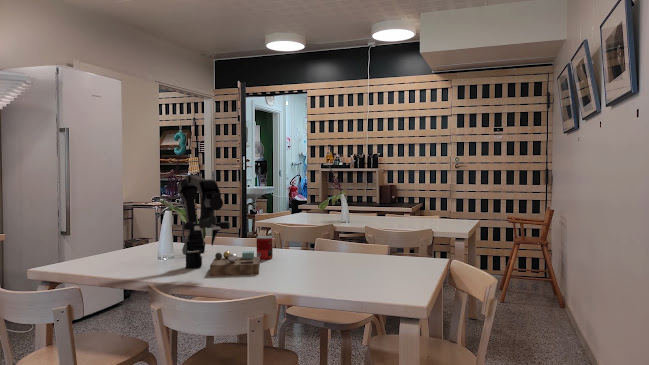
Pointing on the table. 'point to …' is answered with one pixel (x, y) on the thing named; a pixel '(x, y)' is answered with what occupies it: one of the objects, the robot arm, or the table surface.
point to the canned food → (264, 247)
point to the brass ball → (226, 254)
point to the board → (235, 267)
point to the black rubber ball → (218, 255)
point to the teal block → (248, 255)
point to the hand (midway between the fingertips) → (207, 245)
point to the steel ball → (232, 258)
